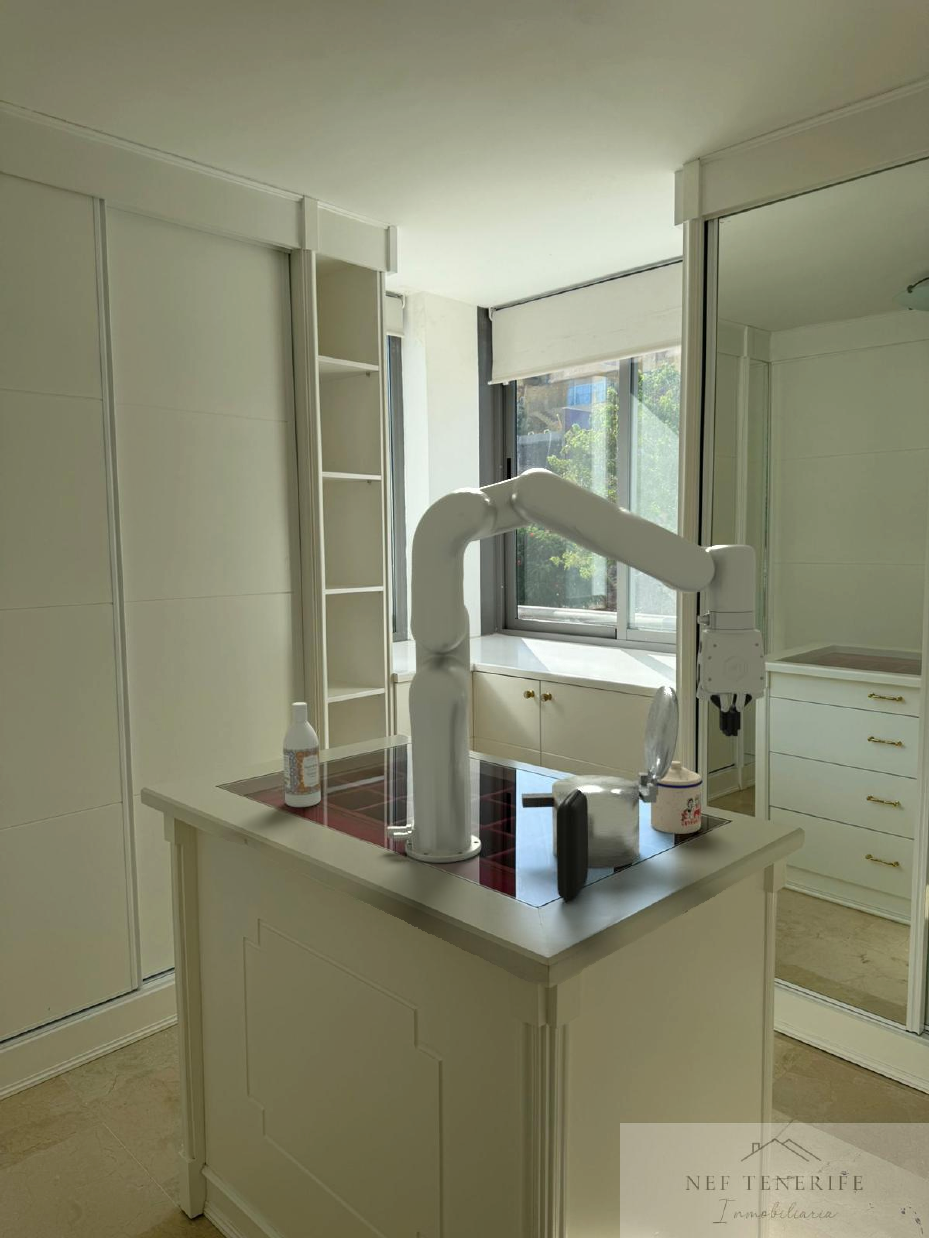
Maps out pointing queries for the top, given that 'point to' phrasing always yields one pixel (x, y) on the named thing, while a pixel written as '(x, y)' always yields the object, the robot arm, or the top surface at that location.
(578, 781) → the cooker pot
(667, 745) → the lid
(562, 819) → the carrying case or bag
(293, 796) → the bath foam
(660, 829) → the teacup with lid
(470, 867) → the top surface
